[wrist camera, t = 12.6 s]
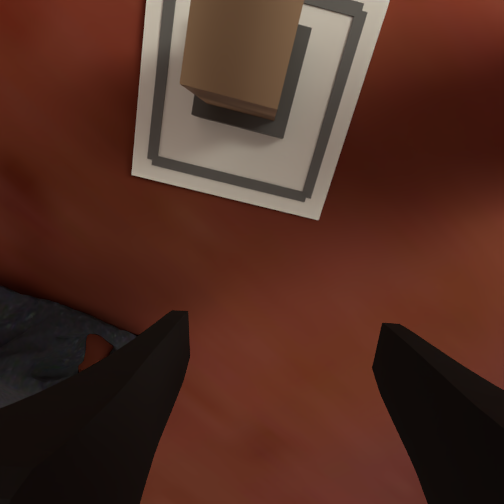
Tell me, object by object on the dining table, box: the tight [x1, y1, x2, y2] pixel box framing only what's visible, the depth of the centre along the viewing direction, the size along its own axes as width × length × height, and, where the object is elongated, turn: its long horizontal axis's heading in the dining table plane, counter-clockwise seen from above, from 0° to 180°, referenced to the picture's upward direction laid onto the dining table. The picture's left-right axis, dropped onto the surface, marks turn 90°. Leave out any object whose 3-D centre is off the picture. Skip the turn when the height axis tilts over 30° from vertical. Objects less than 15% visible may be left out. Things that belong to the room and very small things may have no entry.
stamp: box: [180, 0, 312, 139], centre depth 13 cm, size 5×5×6 cm
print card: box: [131, 0, 390, 220], centre depth 16 cm, size 12×12×1 cm
